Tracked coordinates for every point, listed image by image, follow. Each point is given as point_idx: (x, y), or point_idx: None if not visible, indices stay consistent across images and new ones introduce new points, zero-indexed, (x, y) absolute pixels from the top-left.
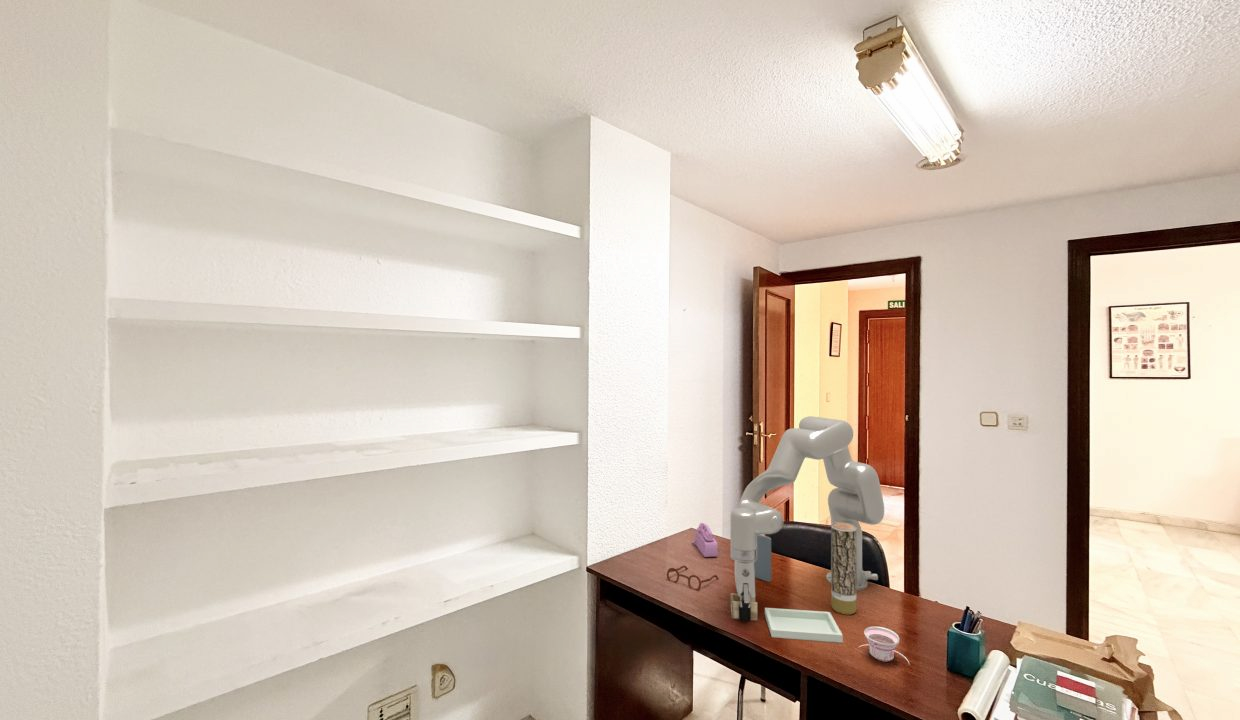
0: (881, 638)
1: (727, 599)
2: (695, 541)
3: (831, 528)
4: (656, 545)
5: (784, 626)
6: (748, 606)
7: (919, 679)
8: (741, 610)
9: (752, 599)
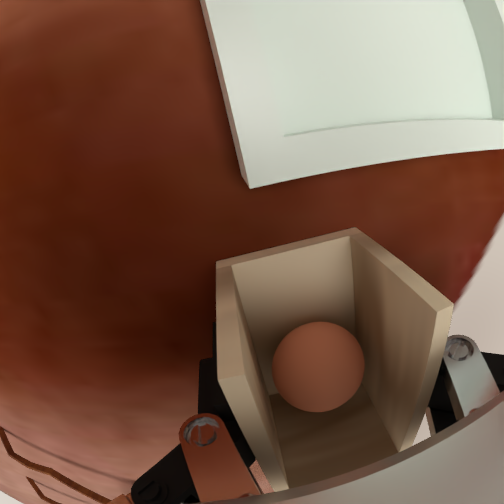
0: None
1: (121, 417)
2: None
3: None
4: (5, 491)
5: (390, 27)
6: (487, 353)
7: None
8: None
9: (247, 360)
